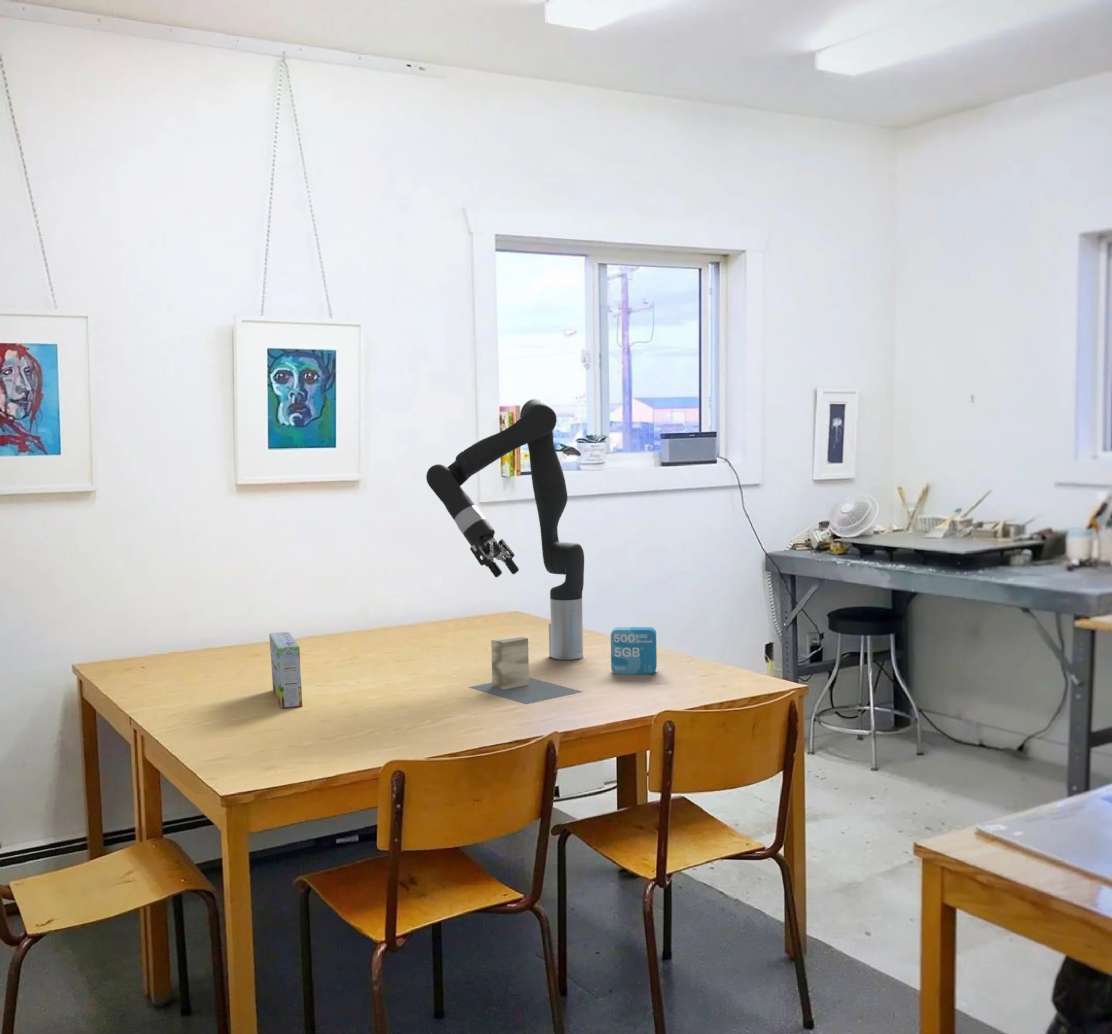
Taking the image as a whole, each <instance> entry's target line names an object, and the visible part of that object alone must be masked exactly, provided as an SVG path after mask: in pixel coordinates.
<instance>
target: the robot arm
mask: <svg viewBox="0 0 1112 1034" xmlns="http://www.w3.org/2000/svg"><path fill="white" fill-rule="evenodd" d="M557 423H558V422H557V414H556V412H555V410H554V409H553V408H552V407H551V406H550V405H549V404H548V403H547V402H545V401H544V400H542V399H537V398H534V399H530V400H528V401H526V402H525V403H524V404H523V406H522V407H521V410H520V414H519V419H518V420H517V421H515V422H513V424H512V425H510V426H508V427H507V428H505V429H503V430H502V431H500V432H497V433H495V434H493V435H490V436H487V437H485V438H482V439H481V440H478V441H477V442H475V443H474V444H472V445H470V446H469V447H467V448H465V449H464V450H463V451H460V452H459V453H457V455H456V457H455V460H454V461H453V462H452V463H451V464H450V465H448V466H446V465H443V464H441V463H440V464H434V465H431V466H430V467H429V468H428V470H427V472H426V476H425V477H426V482H427V484H428V486H429V487H430V489H431V490H432V491H433V492H434V494H435V495H436V496H437V497H438V499H439V500H440V501H441V502H442V504H443V505H444V507H445V509H446V510H447V512H448V514H449V515H450V516H451V518H452V519H453V521H454V523H455V524H456V526H457V528H458V530H459V532H461V534H462V535H463V537H464V538H465V539H466V540H467V542H468V544H469V545H470V547H469V550H470V552H471V553H472V554H473V555H474V557H475V559H476V560H477V562H478V563H479V565H481V567H482V566H485V567H486V568H488V569H489V570H490V572H491V573H492V574H493V576H494V578H499V577H500V576H501V575H502V574H503V572H502V569H501V568H500V567H499V565H498V563H497V562H496V561H495V560H494V559H496V560H498V561H501V562H502V563H503V564H505V566H506V567H507V569H508V571H509V572H510V573H511V575H516V574H517V573H518V572H519V570H520V569H519V567H518V566H517V564H516V563H515V561H514V560H513V558H514V557H515V554H514V552H513V550H512V549H511V548H510V546H508V544H507V543H506V541H505V540H504V538H500V539H499V541H498V540H496V538H495V537H494V536H495V533H496V531H495V529H494V528H493V526H492V525H491V523H489V521H488V519H487V518H486V517H485V515H484V514H483V513H482V511H481V510H480V509H479V508H478V507H477V506H476V504H475V503H474V501H473V499H472V498H470V496H469V494H467V492H466V491H465V490H463V488H462V487H461V486H462V485H463V484H464V483H466V482H467V481H468V480H469V479H470V478H471V477H472V476H473V475H475V474H477V473H479V472H480V471H482V470H483V469H485V468H486V467H488V466H489V465H491V464H493V463H494V462H495V461H497V460H499V459H500V458H502V457H504V456H506V455H508V454H509V453H511V452H513V451H514V450H516V449H518V448H521V447H523V446H524V445H526V444H527V449H528V455H529V466H530V468H529V469H530V474H531V482H532V483H531V485H532V489H533V493H534V500H535V501H534V502H535V505H536V510H537V516H538V522H539V527H540V528H539V529H540V537H541V538H540V539H541V541H540V542H541V548H542V549H541V551H542V552H541V553H542V559H543V565H544V568H545V569H546V571H547V573H549V574H552V575H563V576H565V579H564V581H563V582H562V583H561V584H560V585H559V584H558V585H557V586H554V587H552V588H550V590H549V595H550V596H549V598H550V600H549V603H550V605H549V608H550V623H548V650H549V651H548V653H549V656H548V657H551V658H552V659H554V660H559V661H561V660H562V661H565V660H566V661H571V660H579V659H582V658H583V657H584V639H583V638H584V631H583V630H584V627H583V626H584V623H583V620H584V618H583V590H584V584H585V583H584V581H585V579H584V575H585V574H584V573H585V553H584V548H583V547H582V545H581V544H579V543H576V542H563V541H562V542H561V541H560V540H559V533H558V525H559V522H560V519H561V517H562V515H563V513H564V511H565V509H566V506H567V503H568V490H567V484H566V479H565V475H564V471H563V467H562V464H561V461H560V459H559V456H558V454H557V450H556V449H555V448H556V447H555V442H554V435H553V430H555V427H556V425H557Z"/></svg>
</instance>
